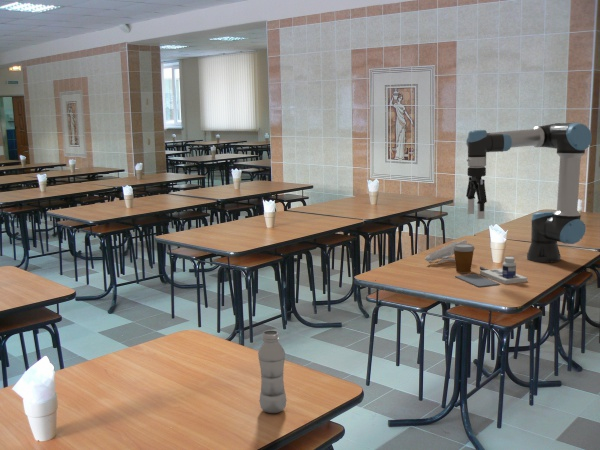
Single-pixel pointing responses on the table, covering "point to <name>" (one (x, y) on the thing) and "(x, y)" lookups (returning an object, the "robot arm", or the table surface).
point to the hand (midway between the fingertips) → (475, 216)
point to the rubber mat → (477, 280)
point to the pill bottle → (509, 268)
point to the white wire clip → (443, 253)
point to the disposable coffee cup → (463, 257)
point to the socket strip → (497, 275)
